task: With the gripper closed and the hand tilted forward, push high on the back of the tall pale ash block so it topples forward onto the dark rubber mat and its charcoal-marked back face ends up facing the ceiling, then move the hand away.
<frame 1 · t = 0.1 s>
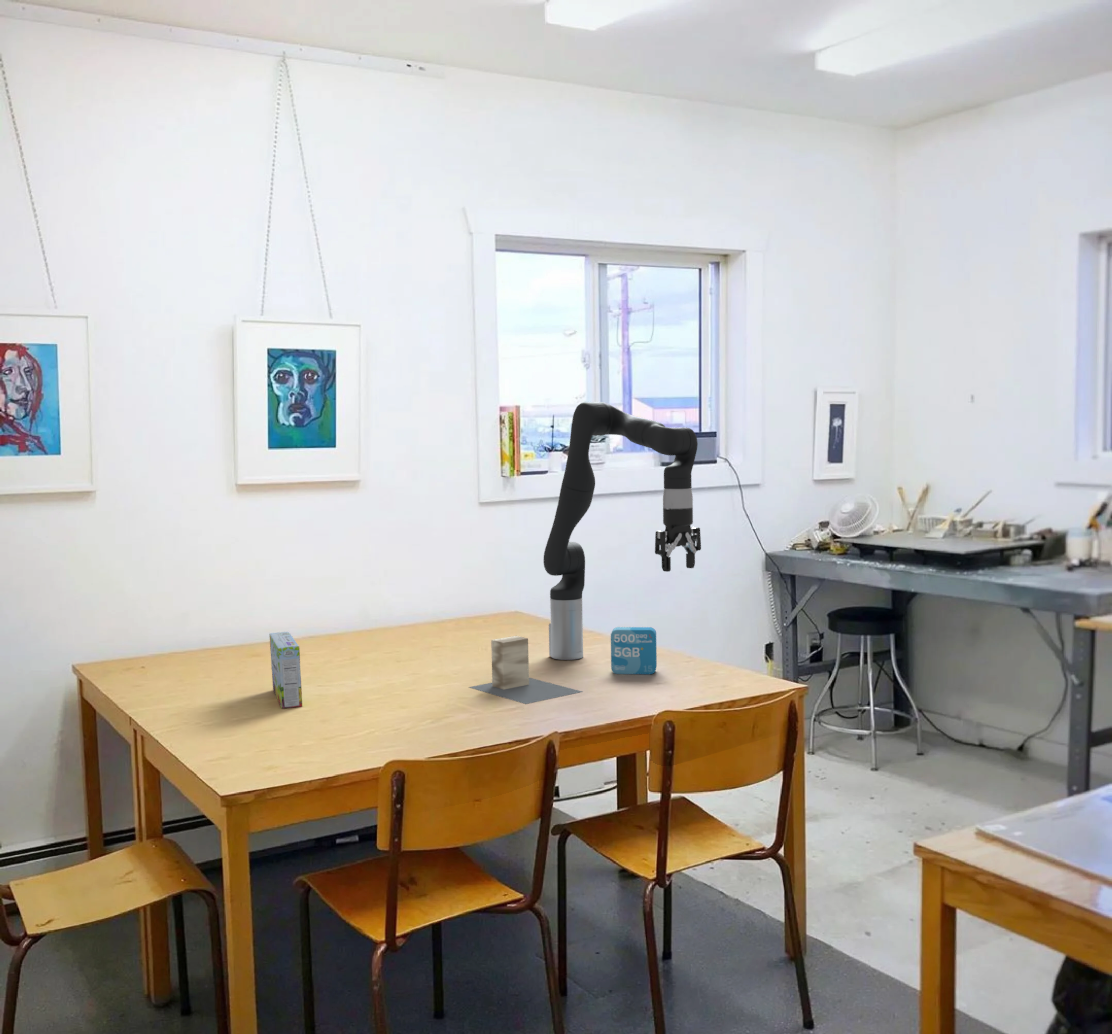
hand: (678, 569, 277), 29 cm above the table, tool pointing down, fingers open, 8 cm apart
ash block: (510, 685, 278), resting on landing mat
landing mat: (525, 690, 273), on the table
snack box: (286, 699, 270), on the table
data package: (634, 673, 292), on the table
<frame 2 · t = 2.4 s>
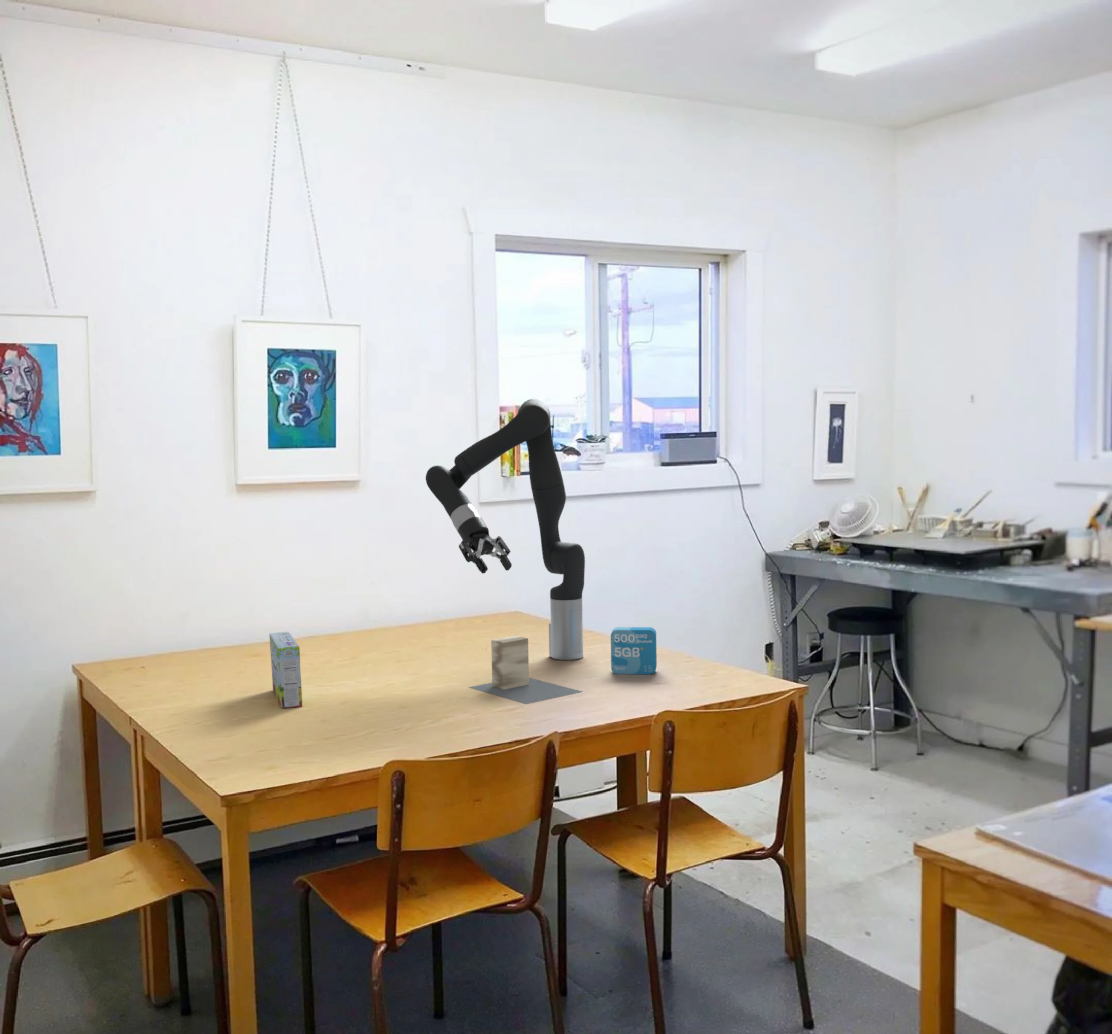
hand: (497, 570, 290), 28 cm above the table, tool tilted 45°, fingers open, 8 cm apart
nothing on the table moved.
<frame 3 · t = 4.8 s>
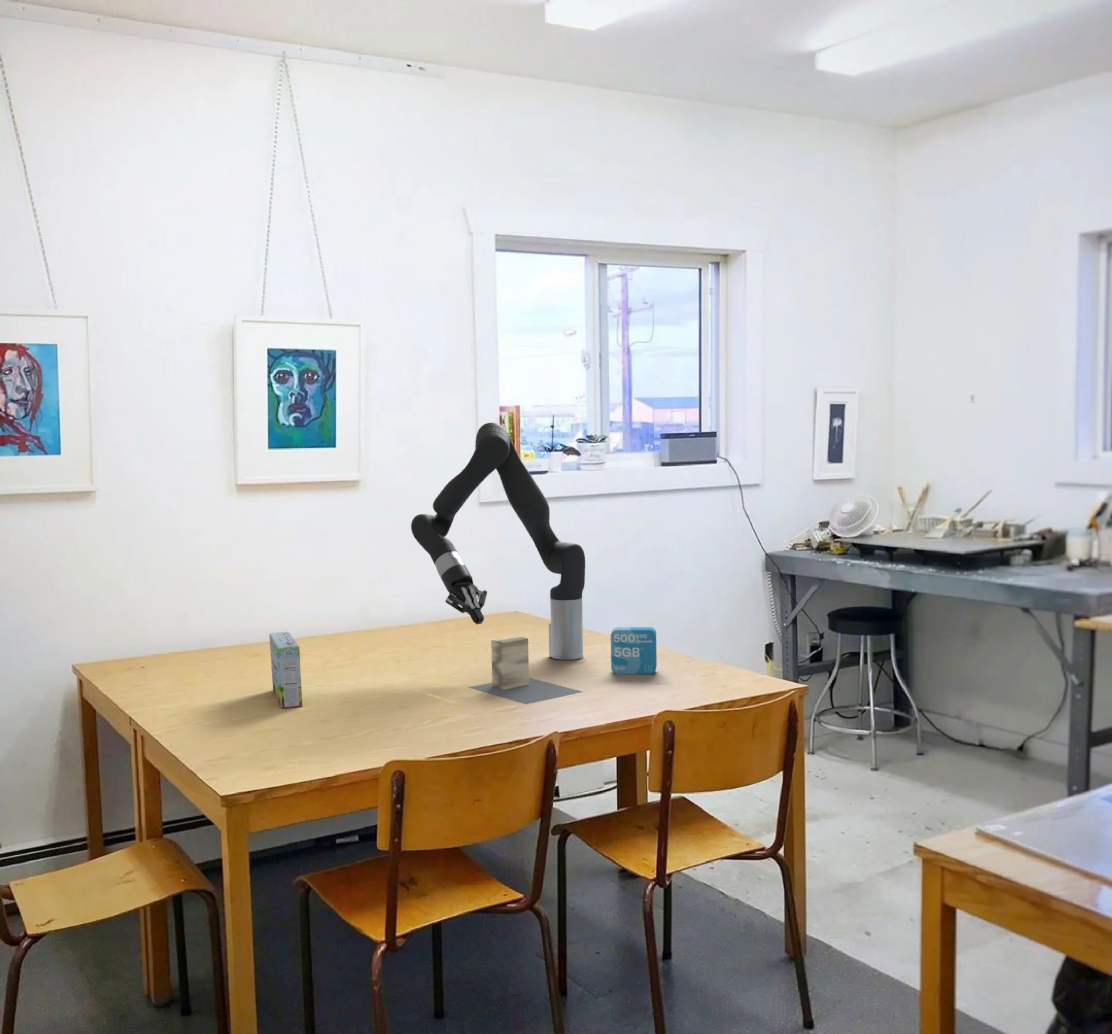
hand: (480, 622, 287), 15 cm above the table, tool tilted 45°, fingers closed
nothing on the table moved.
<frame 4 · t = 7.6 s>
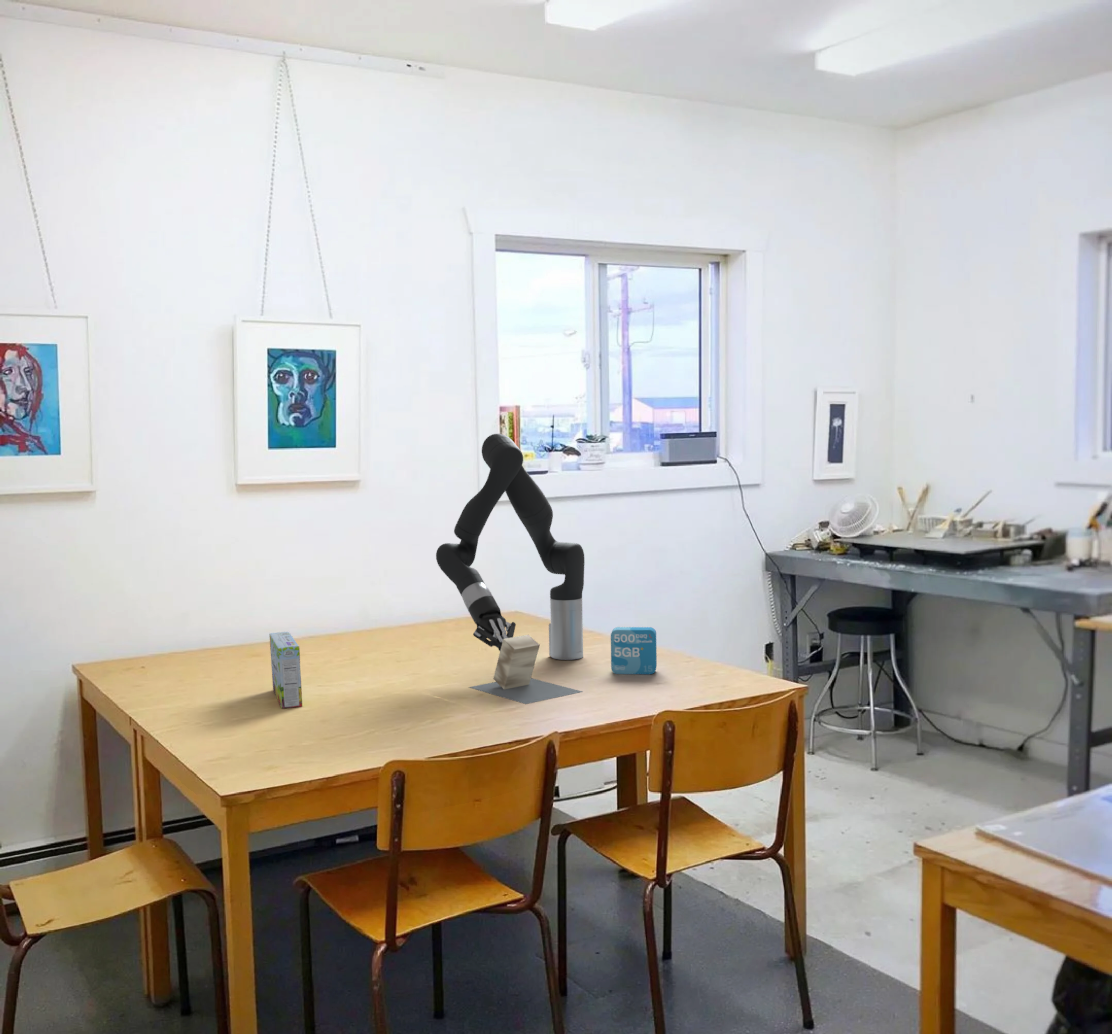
hand: (509, 656, 278), 8 cm above the table, tool tilted 45°, fingers closed
ash block: (511, 681, 278), point 1 cm above the table, tilted 24°, touching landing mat
everything else where it was.
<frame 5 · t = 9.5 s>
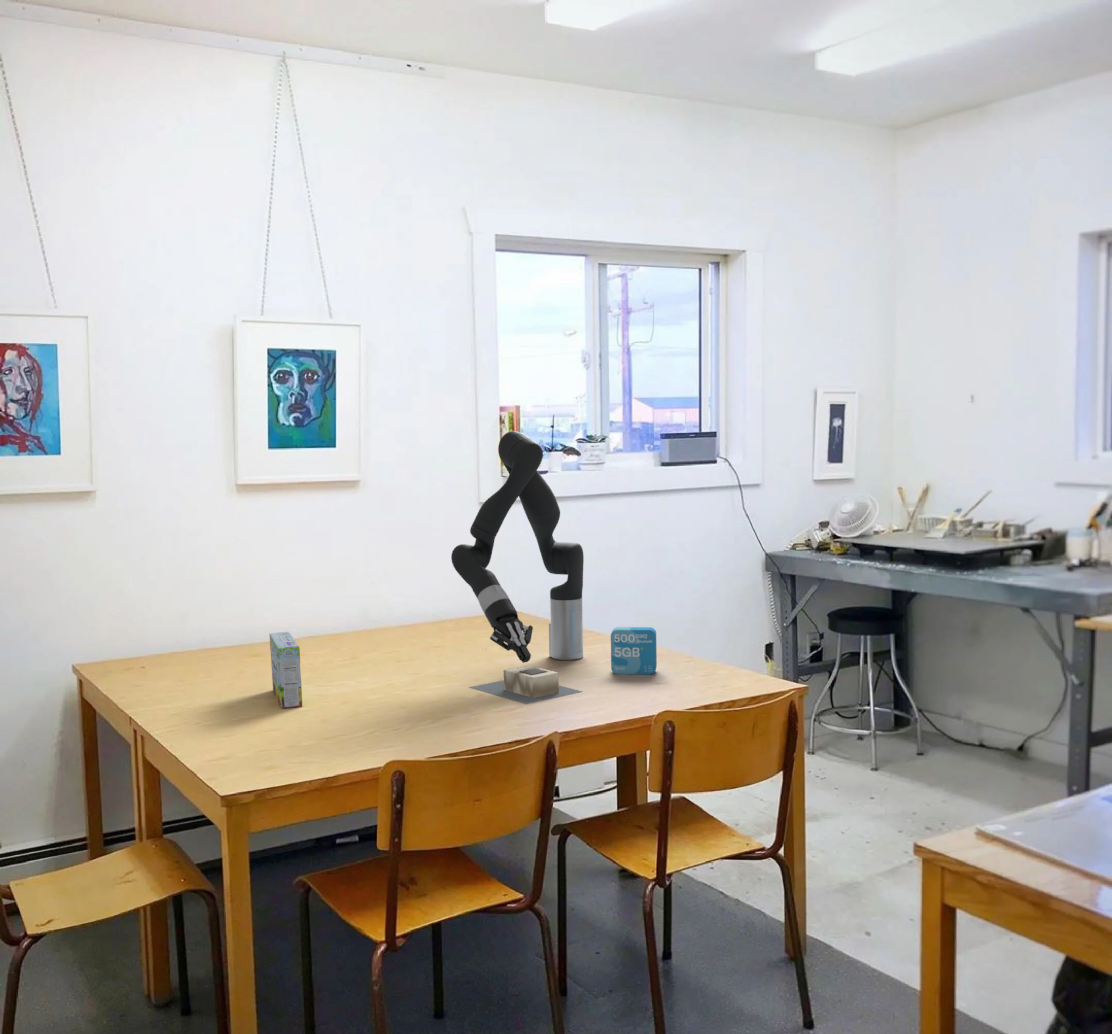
hand: (527, 660, 272), 8 cm above the table, tool tilted 45°, fingers closed
ash block: (516, 677, 276), point 3 cm above the table, tilted 90°, touching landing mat
everything else where it was.
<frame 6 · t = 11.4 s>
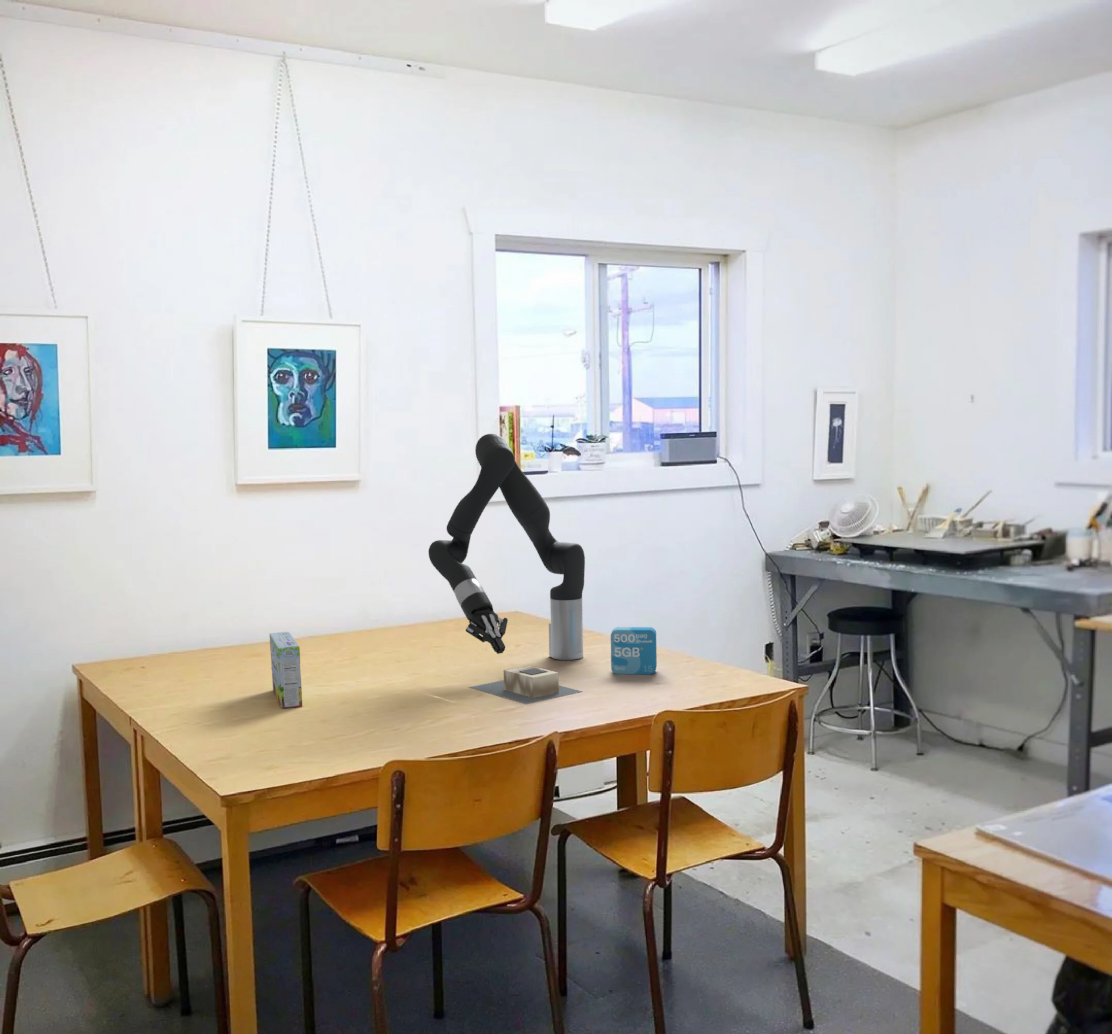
hand: (501, 651, 281), 8 cm above the table, tool tilted 45°, fingers closed
nothing on the table moved.
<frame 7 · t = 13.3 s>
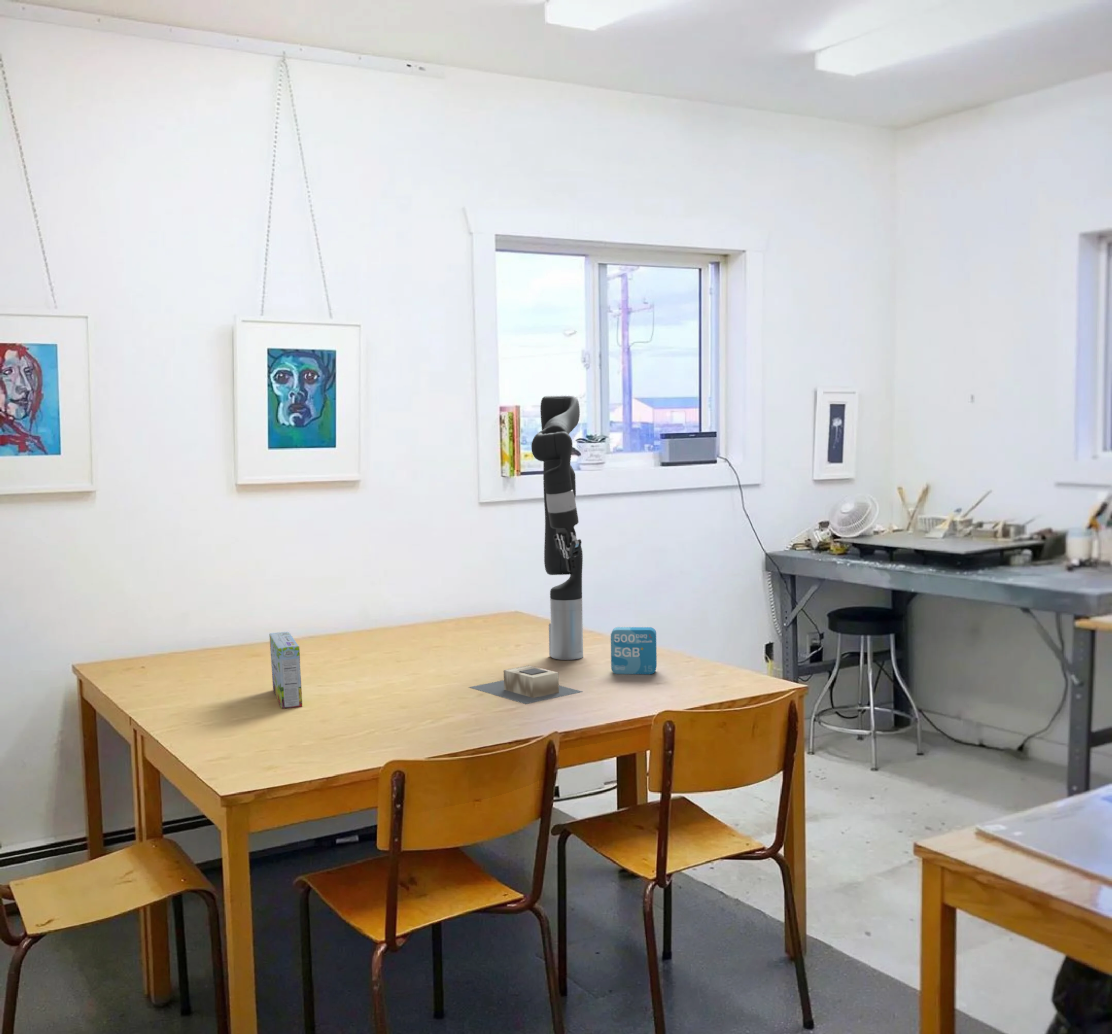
hand: (572, 571, 288), 28 cm above the table, tool pointing down, fingers closed
nothing on the table moved.
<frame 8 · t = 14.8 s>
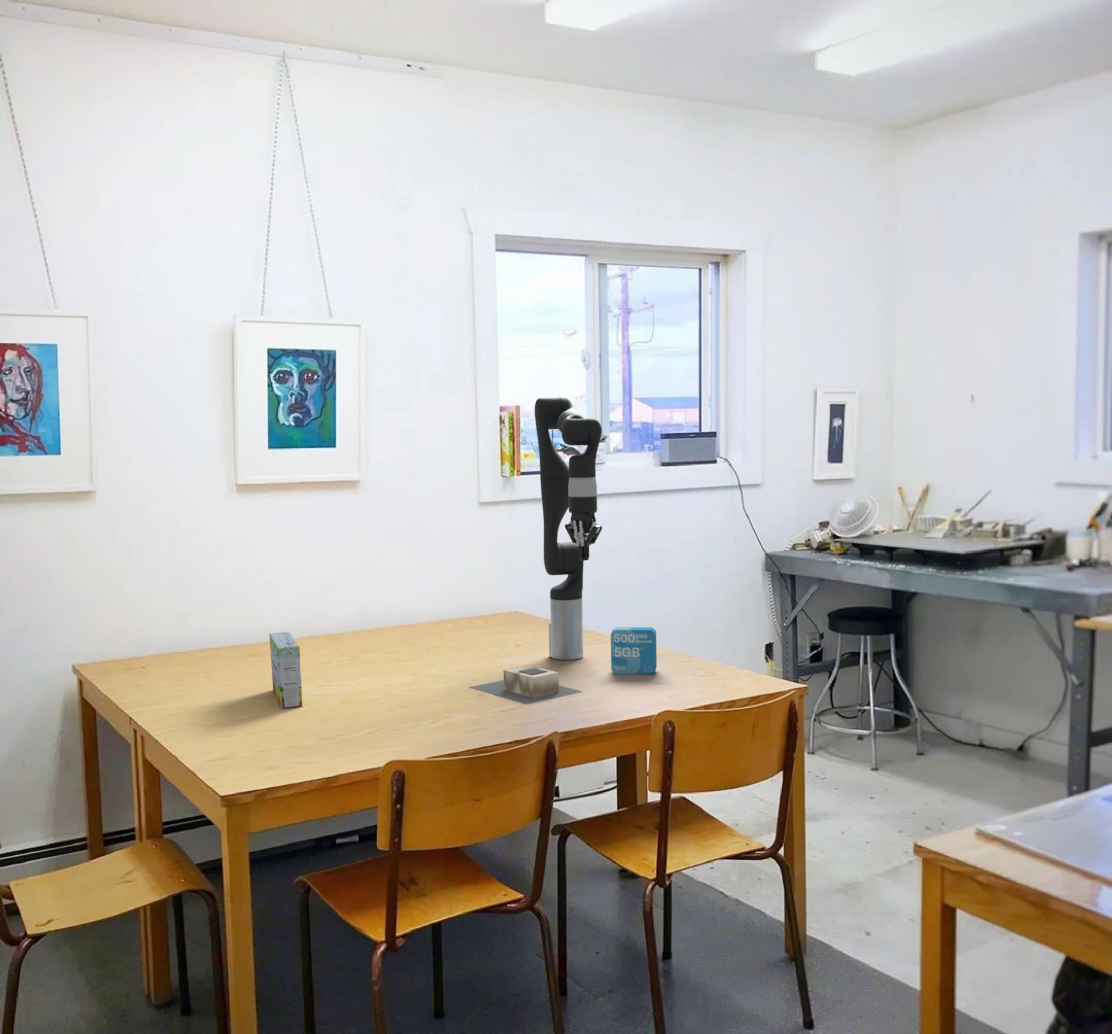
hand: (583, 560, 287), 31 cm above the table, tool pointing down, fingers closed
nothing on the table moved.
at the end: ash block tilted 90°; ash block inside the target area (1.5 cm from its centre), point 2.8 cm above the table; the gripper is holding nothing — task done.
